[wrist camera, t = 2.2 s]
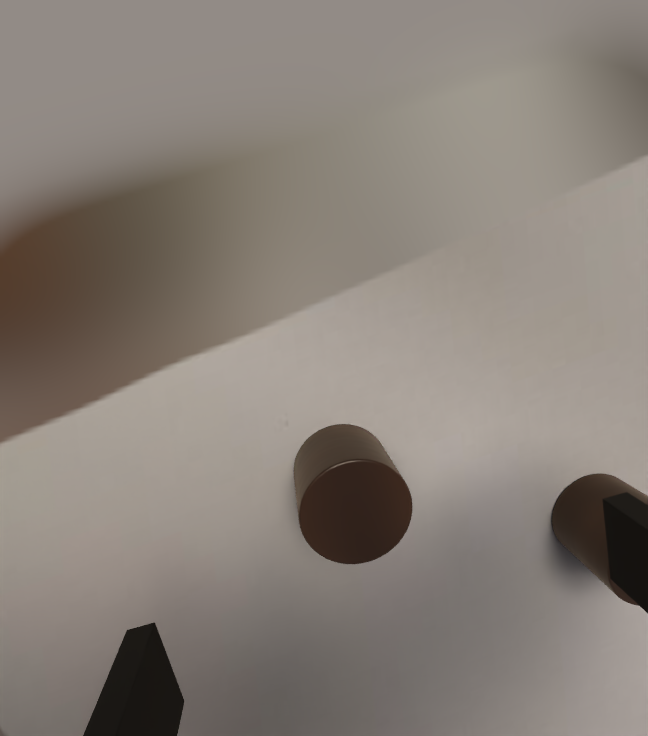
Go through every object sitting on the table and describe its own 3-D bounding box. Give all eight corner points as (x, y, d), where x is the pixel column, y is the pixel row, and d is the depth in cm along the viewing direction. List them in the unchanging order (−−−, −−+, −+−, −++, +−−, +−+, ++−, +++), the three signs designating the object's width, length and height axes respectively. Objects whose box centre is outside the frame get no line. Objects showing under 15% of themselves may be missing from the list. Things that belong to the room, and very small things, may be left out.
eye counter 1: (555, 560, 23) (612, 618, 20) (546, 486, 22) (604, 531, 19) (634, 538, 24) (705, 590, 20) (628, 463, 23) (702, 503, 19)
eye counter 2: (305, 522, 21) (313, 578, 17) (283, 437, 20) (286, 477, 16) (394, 497, 22) (422, 547, 18) (376, 413, 21) (401, 446, 17)
